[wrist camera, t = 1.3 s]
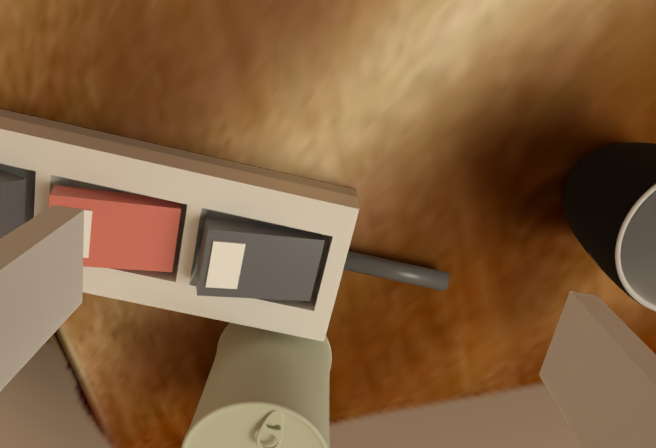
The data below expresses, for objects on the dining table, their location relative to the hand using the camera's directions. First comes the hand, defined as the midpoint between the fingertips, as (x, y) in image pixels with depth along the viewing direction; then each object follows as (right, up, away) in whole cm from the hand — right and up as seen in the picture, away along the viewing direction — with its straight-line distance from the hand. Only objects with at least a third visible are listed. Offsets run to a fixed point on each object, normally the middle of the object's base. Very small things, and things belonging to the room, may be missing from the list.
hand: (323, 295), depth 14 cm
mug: (+22, +4, +24) cm, 32 cm away
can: (-4, -9, +29) cm, 30 cm away
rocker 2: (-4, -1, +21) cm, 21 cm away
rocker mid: (-14, +2, +20) cm, 24 cm away
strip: (-10, +2, +25) cm, 27 cm away
